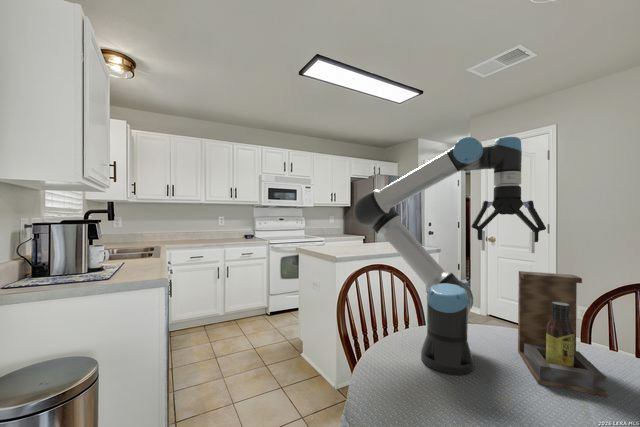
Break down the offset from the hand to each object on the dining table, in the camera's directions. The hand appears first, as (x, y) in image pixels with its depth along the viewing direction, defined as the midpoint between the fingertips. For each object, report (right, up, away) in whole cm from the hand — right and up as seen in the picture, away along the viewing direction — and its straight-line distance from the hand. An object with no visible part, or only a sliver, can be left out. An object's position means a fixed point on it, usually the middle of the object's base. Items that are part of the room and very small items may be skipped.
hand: (506, 251), depth 94 cm
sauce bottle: (+9, -34, -10) cm, 36 cm away
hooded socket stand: (+10, -35, -7) cm, 37 cm away
